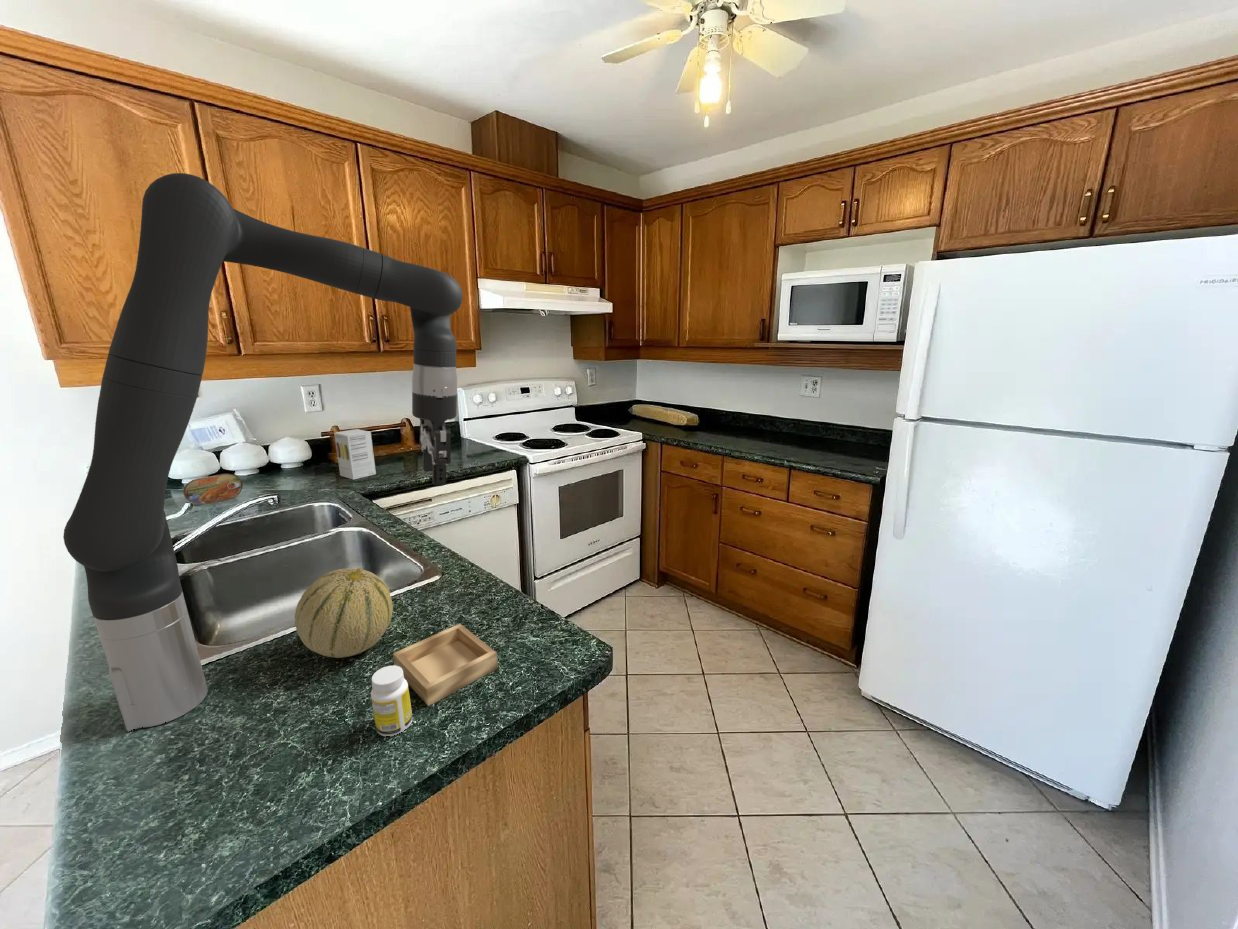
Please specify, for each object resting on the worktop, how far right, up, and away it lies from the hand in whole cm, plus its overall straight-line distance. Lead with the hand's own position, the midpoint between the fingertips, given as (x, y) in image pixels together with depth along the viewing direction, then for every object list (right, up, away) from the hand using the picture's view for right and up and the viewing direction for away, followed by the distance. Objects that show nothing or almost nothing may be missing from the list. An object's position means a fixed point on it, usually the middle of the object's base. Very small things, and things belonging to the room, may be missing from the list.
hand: (434, 477), depth 93 cm
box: (+6, -31, -10) cm, 34 cm away
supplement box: (-65, -2, +98) cm, 117 cm away
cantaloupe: (-13, -30, -5) cm, 33 cm away
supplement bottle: (+3, -35, -22) cm, 41 cm away
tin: (-96, -10, +69) cm, 119 cm away
